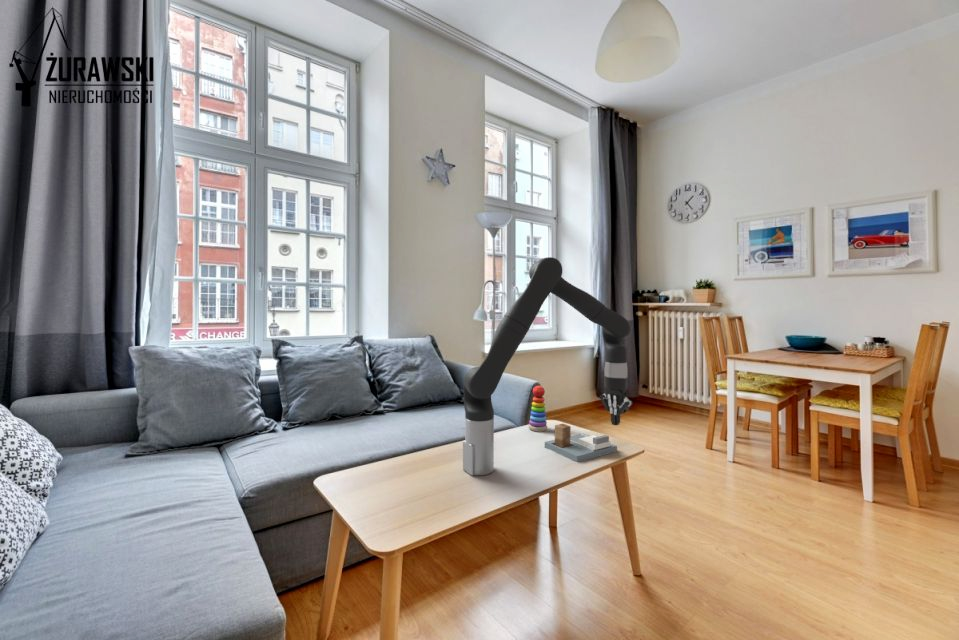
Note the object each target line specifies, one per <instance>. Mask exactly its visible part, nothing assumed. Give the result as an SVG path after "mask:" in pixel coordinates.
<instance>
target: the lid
mask: <svg viewBox="0 0 959 640" xmlns="http://www.w3.org/2000/svg"><path fill="white" fill-rule="evenodd" d="M609 436H610V435H607V434H604V435H599V436H596V435H594V434H593V435H589V436H588V437H584V438H579V439H578V443H579V444H582V445H584V446H587V447H589V448H592V449H594V450H597V449H601V448H605V447H609V446H610V443H611V440H610V437H609Z"/></svg>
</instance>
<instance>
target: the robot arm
mask: <svg viewBox="0 0 959 640" xmlns="http://www.w3.org/2000/svg"><path fill="white" fill-rule="evenodd" d="M528 275H529V278H530V280H529V282H528V284H527V286H526V288H525V289H524V291H523V292H521V294H520V295H519V296H518V298H517V299H516V300H515V301H514V302H513V303H512V304H511V306H510V307H509V308H508V309H507V311H506V312H505V314H504V315H503V316H502V318H501V320H500V321H499V323H498V325H497V327H496V330H495V331H494V334H493V338H492V340H491V344H490V348H489V350H488V353H487V354H486V356H485V358H483V359H484V360H482V362H481V364H480V365H479V366H475V367H472V368H470V369H469V370H468V371H467V372H466V373H465V375H464V377H463V406H464V407H463V408H464V411H465V412H464V413H465V414H464V416H465V417H464V420H465V424H464V425H465V427H464V430H465V431H464V433H465V435H464V437H465V438H464V439H465V440H464V439H463V440H462V470H463V471H464V472H466V473H467V474H468V475H470V476H485V475H486V476H487V475H490V474H491V473H493V472H494V469H495V467H494V464H495V462H494V460H495V459H494V457H495V456H494V454H495V452H494V450H495V445H494V443H495V441H494V440H495V439H494V438H495V437H494V435H495V434H494V433H495V431H494V430H495V426H494V425H495V422H494V421H495V419H494V418H495V411H494V407H493V402H492V395H493V394H494V392H495V391H496V390H497V387H498V386H499V384H500V381H501V378H502V377H503V374H504V371H505V370H506V368H507V366H508V364H509V363H510V361H511V359H512V357H513V356H514V355H515V353H516V352H517V349H518V348H519V346H520V345H521V343H522V342H523V340H524V339H525V337H526V335H527V334H528V332H529V330H530V328H531V326H532V324H533V323H534V321H535V319H536V318H537V315H538V314H539V312H540V310H541V308H542V306H543V304H544V302H545V301H546V299H547V298H548V296H549V295H550V294H553V295H554V296H556V297H558V298H559V299H560V300H562V301H563V302H565V303H566V304H568V305H569V306H570V307H572V308H574V310H575V311H577V312H578V313H580V314H581V315H582V316H583V317H585V318H586V319H587V320H589V321H590V322H591V323H592V324H596V325H599V326H601V330H602V331H601V332H602V334H601V335H602V339H603V344H604V348H605V349H604V350H605V354H604V355H605V357H604V358H605V360H604V361H605V362H604V376H603V377H604V378H603V379H604V381H603V382H604V384H603V385H604V389H605V390H604V393H603V394H600V395H599V398H600V402H602V404H603V406H604V409H605V411H607V412H609V413H610V422H611V425H613V426H619V425H620V423H621V415H622V414H626V413H627V412H628V411H629V409H630V408H631V407H632V405H633V403H634V401H632V400H630V399H629V397H628V394H627V390H628V361H627V360H628V354H627V353H628V351H627V350H628V349H627V347H626V346H625V345H624V344H623V341H622V339H623V338H626V337H628V336H629V335H630V333H631V329H632V328H631V326H632V325H631V324H630V322H629V320H628V319H626V317H625V316H623V315H621V314H620V313H618V312H616V311H614V310H612V309H611V308H609V307H608V306H606V305H605V304H604V303H602V302H601V301H600V300H598V299H597V298H596V297H594V296H593V295H592V294H590V293H588V292H586V291H585V290H583V289H581V288H579V287H577V286H575V285H573V284H572V283H570V282H568V281H567V280H566V279H564V277H562V276H563V265H562V263H561V262H560V260H558V259H557V258H555V257H553V256H552V257H551V256H550V257H543V258H541V259H538V260H536V261H535V262H533V263H532V264H531V265H530V268H529V271H528Z"/></svg>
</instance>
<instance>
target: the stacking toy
mask: <svg viewBox="0 0 959 640" xmlns="http://www.w3.org/2000/svg"><path fill="white" fill-rule="evenodd" d="M545 391H546V390H545V388H544V387H543V386H542V385H535V386H534V387H533V389H532V394H533V396H534V397H533V398H532V402H531V411H530V418H529V419H530V420H529V421H528V424H529V425H528V429H529V430H531V431H532V432H533V431H534V432H545V431H546V430H548V424H547V412H546V407H545V405H546V404H545V398H544V396H545V393H546V392H545Z"/></svg>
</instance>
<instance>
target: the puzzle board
mask: <svg viewBox="0 0 959 640" xmlns="http://www.w3.org/2000/svg"><path fill="white" fill-rule="evenodd" d="M588 436H590V435H589V434H586V433H583V432H582V433H578V434H574V435H571V437H570V446H569V447H565V448H560V447H558V446H556V445H555V439H551V440H547V441H544V448H545V449H548V450H550V451H552V452H554V453H556V454H559V455H561V456H563V457H565V458H567V459H569V460H572V461H574V462H577V463H579V462H583V461H586V460H590V459H593V458H597V457H601V456H604V455H607V454H608V455H609V454H612V453H615V452H617V451H618V446H617V445H615V444H613V443H611V442H610V446H609V447H605V448H601V449H597V450H594V449H592V448H589V447H587V446H584V445H582V444H579V443H578V439H579V438H584V437H588Z"/></svg>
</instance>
